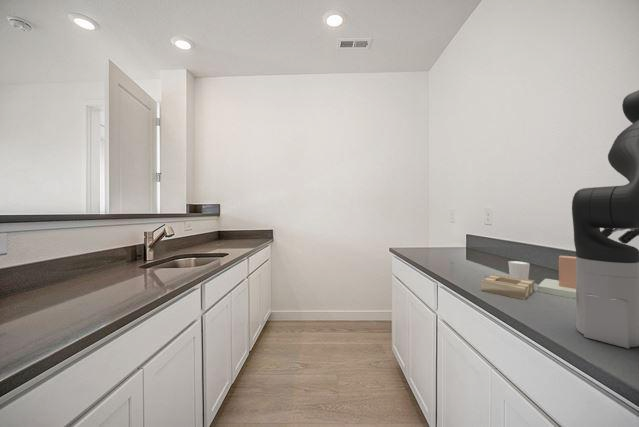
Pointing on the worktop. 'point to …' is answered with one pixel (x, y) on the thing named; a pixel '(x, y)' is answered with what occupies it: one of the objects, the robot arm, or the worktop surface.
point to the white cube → (519, 269)
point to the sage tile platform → (556, 288)
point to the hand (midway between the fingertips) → (609, 240)
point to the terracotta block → (567, 271)
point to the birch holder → (508, 286)
